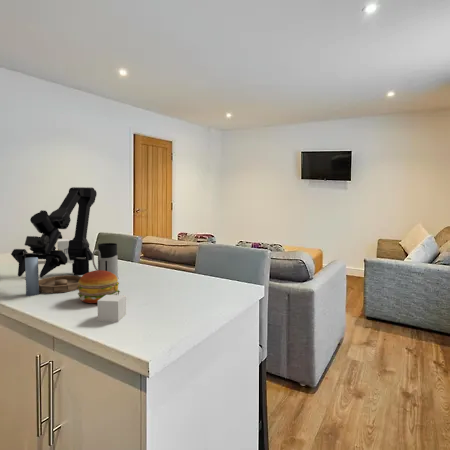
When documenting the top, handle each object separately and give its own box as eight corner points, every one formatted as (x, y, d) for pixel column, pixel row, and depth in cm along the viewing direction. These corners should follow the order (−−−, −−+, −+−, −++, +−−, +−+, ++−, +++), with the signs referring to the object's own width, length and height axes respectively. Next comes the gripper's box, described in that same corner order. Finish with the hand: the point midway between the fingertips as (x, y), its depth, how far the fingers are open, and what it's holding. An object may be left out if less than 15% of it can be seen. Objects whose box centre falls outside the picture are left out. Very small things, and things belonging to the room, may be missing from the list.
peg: (39, 292, 125) (38, 256, 124) (38, 295, 122) (37, 258, 121) (26, 293, 124) (25, 257, 122) (25, 296, 120) (24, 259, 119)
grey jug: (122, 278, 149) (122, 243, 147) (102, 286, 135) (102, 248, 134) (105, 276, 151) (104, 242, 150) (83, 284, 137) (83, 246, 136)
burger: (71, 299, 118) (70, 270, 117) (108, 292, 127) (108, 265, 126) (87, 308, 108) (87, 277, 107) (127, 300, 118) (126, 271, 117)
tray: (84, 280, 144) (84, 274, 144) (86, 290, 128) (86, 283, 128) (37, 283, 137) (37, 277, 137) (33, 295, 121) (33, 288, 121)
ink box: (58, 260, 185) (57, 239, 185) (75, 259, 189) (74, 238, 188) (57, 263, 178) (57, 240, 177) (75, 262, 181) (75, 240, 180)
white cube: (97, 321, 98) (97, 300, 97) (106, 314, 104) (106, 294, 103) (118, 322, 97) (118, 301, 97) (126, 315, 103) (125, 295, 103)
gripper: (13, 226, 126) (-9, 262, 115) (62, 228, 124) (44, 264, 114) (28, 245, 134) (9, 280, 124) (74, 246, 132) (58, 282, 122)
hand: (29, 276), depth 121 cm, fingers open, 8 cm apart
